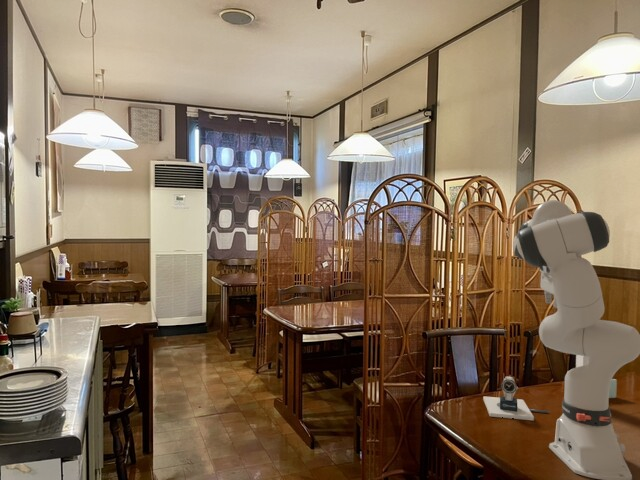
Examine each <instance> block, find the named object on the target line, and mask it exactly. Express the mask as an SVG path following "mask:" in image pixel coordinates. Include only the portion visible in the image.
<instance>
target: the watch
mask: <svg viewBox="0 0 640 480" xmlns="http://www.w3.org/2000/svg"><path fill="white" fill-rule="evenodd" d="M518 389H519V387H518V386H517V383H516V381H515V379H514V378H513V376H505V378H503V380H502V382H501V390H502V392H503V395H504V396H499V398H500V409H502V410H509V411H516V412H517V399H518V398H516V397H514V396H515V394H516V391H517V390H518Z"/></svg>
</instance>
